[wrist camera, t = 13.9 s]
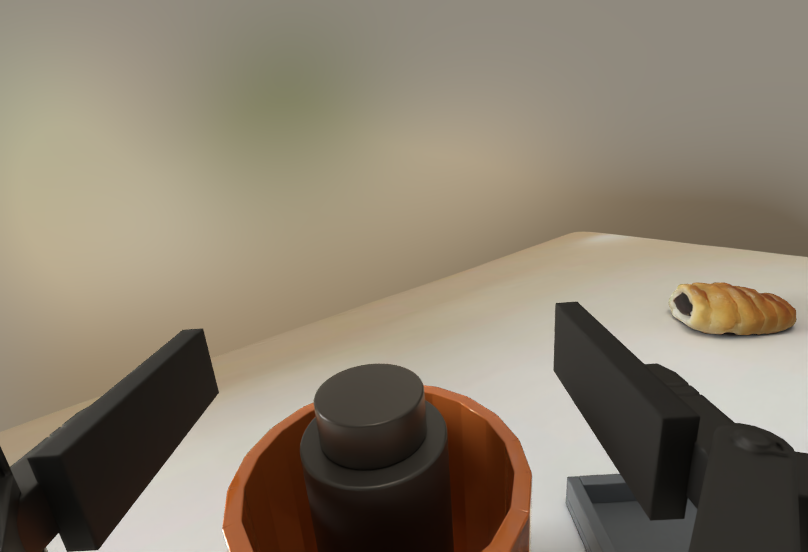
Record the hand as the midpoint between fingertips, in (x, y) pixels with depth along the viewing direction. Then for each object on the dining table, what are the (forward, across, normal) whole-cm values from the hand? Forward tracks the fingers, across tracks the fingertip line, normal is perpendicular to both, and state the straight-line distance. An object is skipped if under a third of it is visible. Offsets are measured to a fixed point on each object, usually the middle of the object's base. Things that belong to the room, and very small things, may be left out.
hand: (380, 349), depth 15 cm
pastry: (+23, +30, -12) cm, 39 cm away
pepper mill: (-3, 0, -11) cm, 11 cm away
